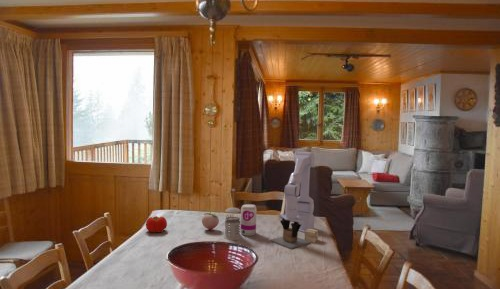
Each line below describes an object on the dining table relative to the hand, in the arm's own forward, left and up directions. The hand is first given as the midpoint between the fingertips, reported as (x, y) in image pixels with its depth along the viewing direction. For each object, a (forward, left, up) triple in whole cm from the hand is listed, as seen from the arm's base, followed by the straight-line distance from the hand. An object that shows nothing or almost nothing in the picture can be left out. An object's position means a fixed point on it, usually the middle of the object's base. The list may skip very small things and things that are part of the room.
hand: (290, 235), depth 185 cm
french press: (+19, -23, -4) cm, 30 cm away
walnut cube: (0, 0, -2) cm, 2 cm away
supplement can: (+8, -23, -4) cm, 25 cm away
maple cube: (-11, +4, -3) cm, 12 cm away
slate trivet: (0, 0, -3) cm, 3 cm away
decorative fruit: (+21, -40, -4) cm, 45 cm away
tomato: (+45, -55, -4) cm, 71 cm away
